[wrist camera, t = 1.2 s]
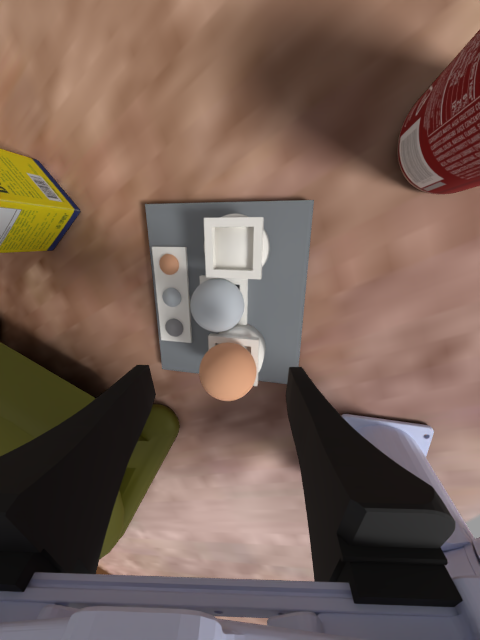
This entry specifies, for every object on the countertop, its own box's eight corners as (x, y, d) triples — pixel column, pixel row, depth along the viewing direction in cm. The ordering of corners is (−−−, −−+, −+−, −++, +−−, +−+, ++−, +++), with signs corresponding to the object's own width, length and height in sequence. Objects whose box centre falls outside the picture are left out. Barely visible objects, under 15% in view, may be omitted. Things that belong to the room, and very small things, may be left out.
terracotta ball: (259, 383, 21) (250, 418, 17) (210, 377, 22) (191, 409, 18) (260, 336, 20) (252, 361, 16) (209, 332, 21) (188, 354, 17)
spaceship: (-26, 286, 30) (-166, 306, 21) (190, 412, 29) (141, 491, 20) (-35, 459, 43) (-124, 518, 34) (114, 551, 42) (64, 638, 33)
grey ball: (248, 324, 22) (237, 342, 18) (202, 320, 23) (183, 337, 19) (249, 275, 21) (238, 284, 17) (200, 274, 22) (179, 281, 18)
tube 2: (264, 371, 23) (260, 389, 21) (217, 366, 24) (206, 382, 22) (266, 324, 22) (262, 337, 19) (215, 320, 23) (204, 332, 20)
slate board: (296, 379, 24) (296, 388, 23) (166, 364, 27) (159, 371, 25) (312, 202, 19) (314, 198, 18) (151, 205, 22) (140, 203, 20)
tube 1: (268, 277, 21) (264, 283, 18) (214, 275, 22) (202, 281, 19) (271, 216, 19) (267, 212, 16) (213, 217, 20) (199, 213, 17)
